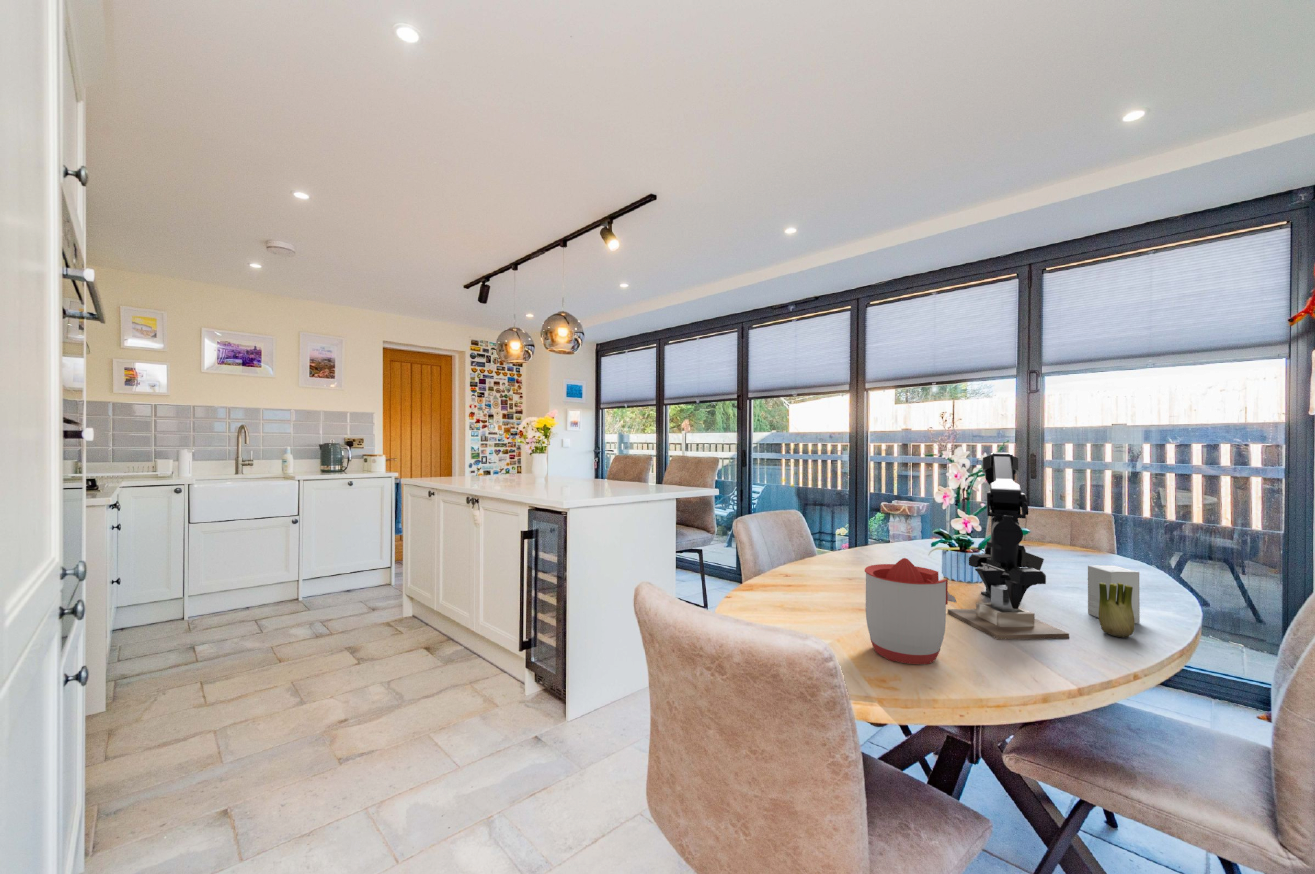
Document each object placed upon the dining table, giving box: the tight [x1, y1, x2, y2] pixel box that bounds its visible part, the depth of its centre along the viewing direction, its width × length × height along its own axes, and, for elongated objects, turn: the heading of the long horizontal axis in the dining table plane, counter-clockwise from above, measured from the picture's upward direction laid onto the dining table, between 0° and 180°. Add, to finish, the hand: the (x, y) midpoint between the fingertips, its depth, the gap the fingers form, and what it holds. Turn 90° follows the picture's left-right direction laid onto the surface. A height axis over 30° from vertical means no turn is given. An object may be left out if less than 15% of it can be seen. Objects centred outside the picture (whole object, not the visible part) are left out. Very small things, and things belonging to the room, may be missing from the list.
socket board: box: [947, 602, 1070, 640], centre depth 129 cm, size 18×17×4 cm
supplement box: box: [1087, 564, 1141, 624], centre depth 134 cm, size 7×7×13 cm
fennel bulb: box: [1098, 583, 1136, 639], centre depth 122 cm, size 6×5×12 cm
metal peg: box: [990, 585, 1020, 612], centre depth 129 cm, size 4×4×8 cm
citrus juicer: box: [864, 557, 957, 665], centre depth 110 cm, size 16×17×20 cm
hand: (1004, 603), depth 129 cm, fingers open, 7 cm apart
